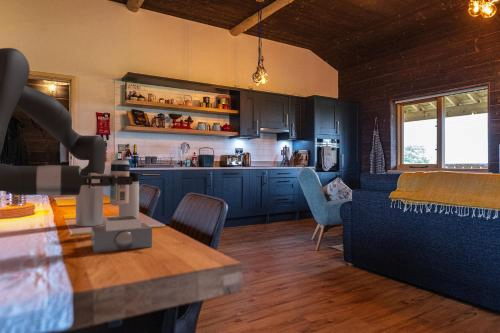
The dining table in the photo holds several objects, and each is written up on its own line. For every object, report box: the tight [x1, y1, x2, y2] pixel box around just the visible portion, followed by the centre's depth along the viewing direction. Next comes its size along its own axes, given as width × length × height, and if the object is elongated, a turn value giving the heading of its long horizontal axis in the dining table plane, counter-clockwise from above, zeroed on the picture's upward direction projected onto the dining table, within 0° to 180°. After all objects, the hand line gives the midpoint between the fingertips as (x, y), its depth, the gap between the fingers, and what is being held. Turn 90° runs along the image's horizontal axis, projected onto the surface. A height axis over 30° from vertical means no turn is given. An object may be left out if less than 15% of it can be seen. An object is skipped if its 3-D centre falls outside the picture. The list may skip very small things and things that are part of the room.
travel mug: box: [118, 172, 140, 218], centre depth 110 cm, size 6×7×20 cm
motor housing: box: [90, 215, 153, 254], centre depth 90 cm, size 11×14×8 cm
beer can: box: [109, 159, 131, 207], centre depth 90 cm, size 5×5×12 cm
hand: (130, 180), depth 91 cm, fingers closed on beer can, 4 cm apart
